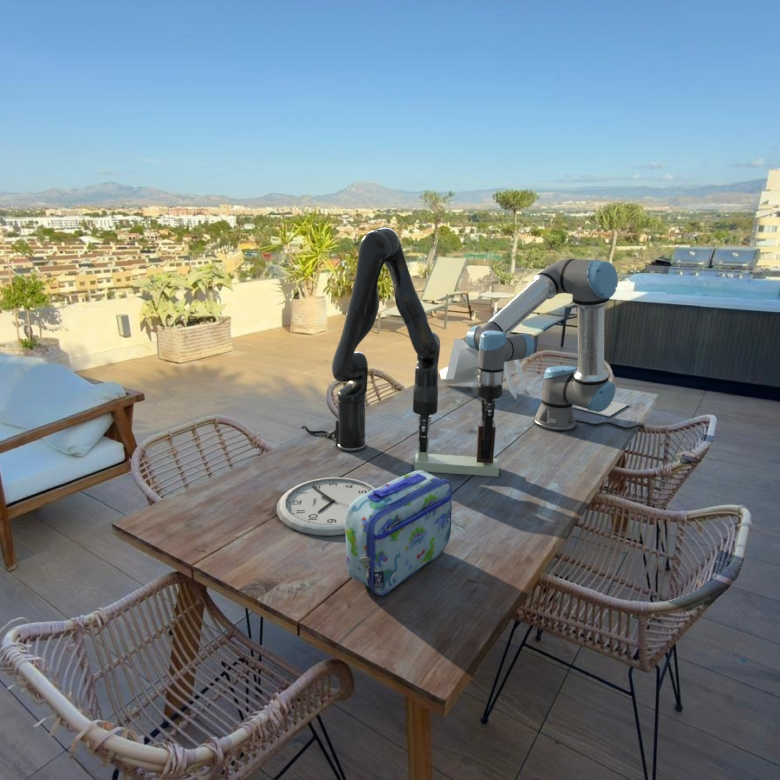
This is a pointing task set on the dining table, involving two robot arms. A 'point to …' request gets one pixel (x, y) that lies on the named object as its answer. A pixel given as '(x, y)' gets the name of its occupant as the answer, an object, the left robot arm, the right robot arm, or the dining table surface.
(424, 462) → the pale green l-shaped block
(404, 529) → the lunch box
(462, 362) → the white plastic object
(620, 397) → the dining table surface
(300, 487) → the wall clock
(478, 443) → the walnut block
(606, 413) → the invitation card
